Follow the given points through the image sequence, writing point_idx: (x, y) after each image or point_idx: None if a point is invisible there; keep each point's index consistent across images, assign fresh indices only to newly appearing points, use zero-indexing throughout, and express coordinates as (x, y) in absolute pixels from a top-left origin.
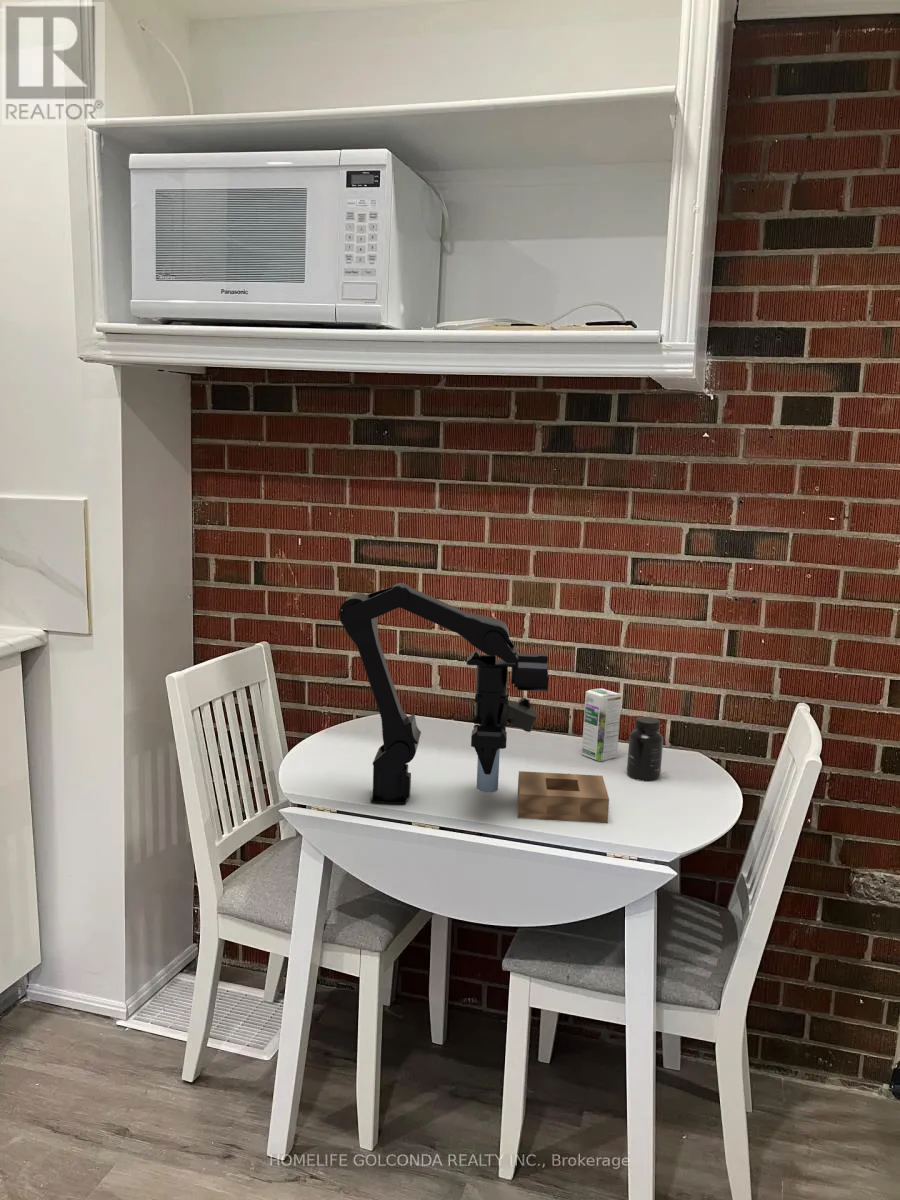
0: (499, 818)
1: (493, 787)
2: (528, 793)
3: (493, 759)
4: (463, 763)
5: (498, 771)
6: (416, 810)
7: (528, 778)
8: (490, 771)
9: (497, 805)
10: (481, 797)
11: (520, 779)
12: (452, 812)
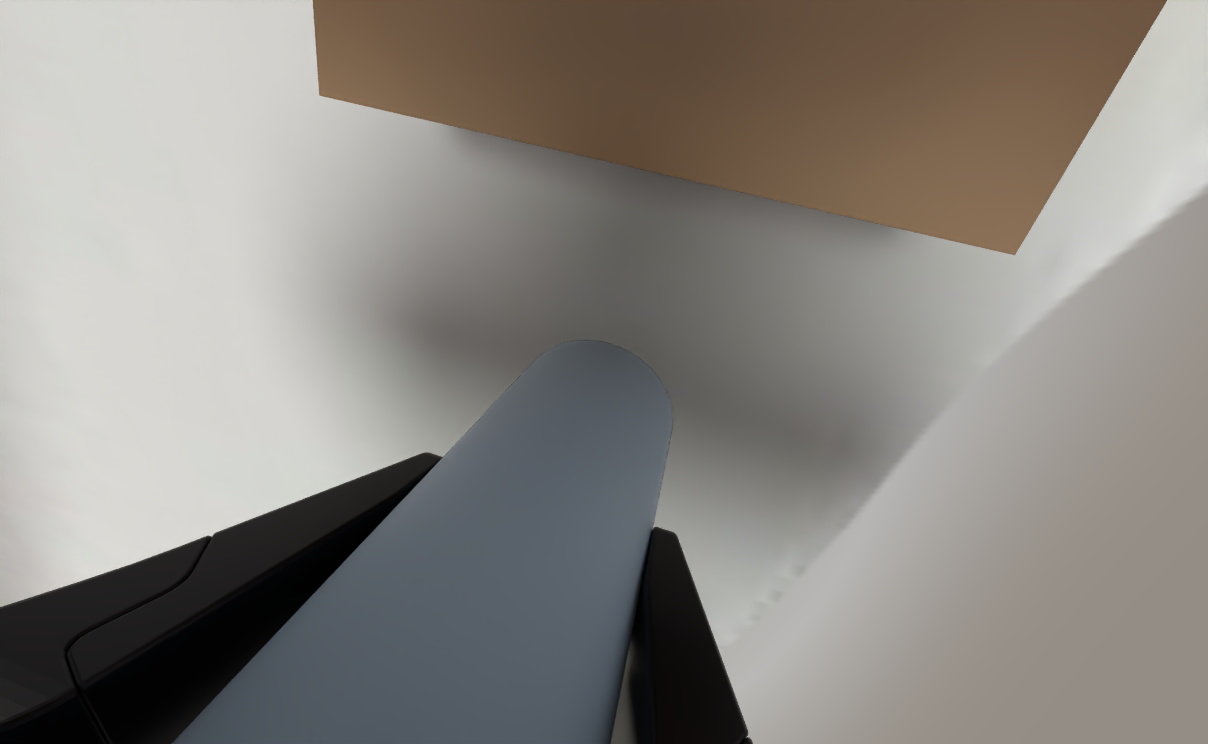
0: (875, 354)
1: (662, 410)
2: (1046, 129)
3: (740, 738)
4: (95, 337)
5: (583, 426)
6: None
7: (522, 13)
8: (685, 563)
9: (651, 310)
10: (523, 370)
11: (551, 130)
12: (721, 557)
